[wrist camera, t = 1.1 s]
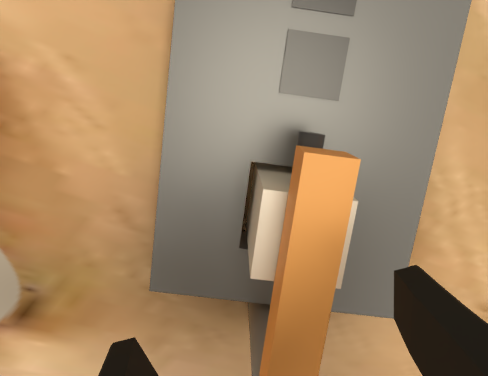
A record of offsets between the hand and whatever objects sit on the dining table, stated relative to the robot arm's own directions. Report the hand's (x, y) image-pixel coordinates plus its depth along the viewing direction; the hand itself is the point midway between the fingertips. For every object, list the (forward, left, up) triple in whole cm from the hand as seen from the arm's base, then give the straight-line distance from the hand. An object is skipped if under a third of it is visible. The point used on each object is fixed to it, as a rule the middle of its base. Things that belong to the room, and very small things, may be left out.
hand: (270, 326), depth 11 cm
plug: (-2, -2, -14) cm, 14 cm away
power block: (-2, -5, -14) cm, 15 cm away
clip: (-2, +2, -13) cm, 14 cm away
